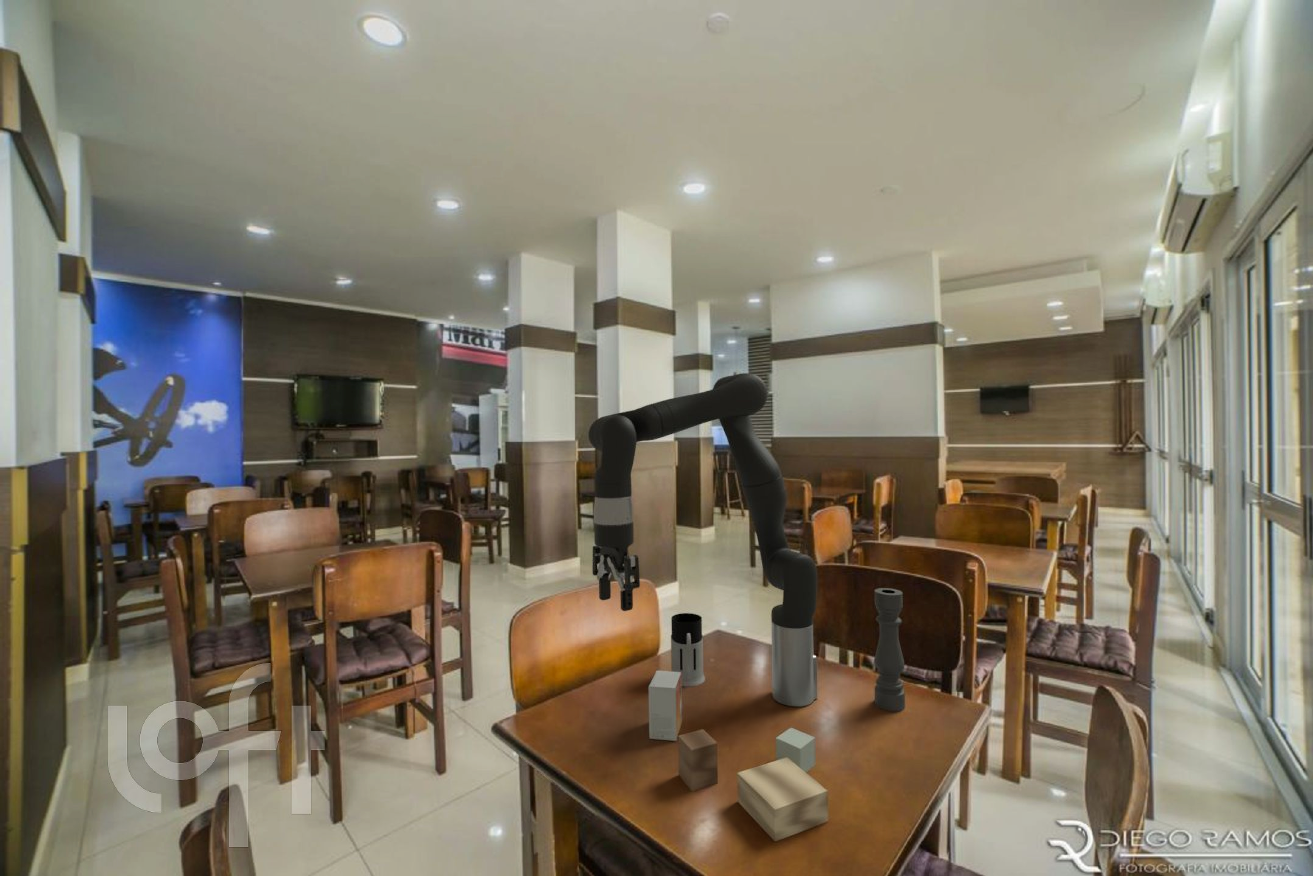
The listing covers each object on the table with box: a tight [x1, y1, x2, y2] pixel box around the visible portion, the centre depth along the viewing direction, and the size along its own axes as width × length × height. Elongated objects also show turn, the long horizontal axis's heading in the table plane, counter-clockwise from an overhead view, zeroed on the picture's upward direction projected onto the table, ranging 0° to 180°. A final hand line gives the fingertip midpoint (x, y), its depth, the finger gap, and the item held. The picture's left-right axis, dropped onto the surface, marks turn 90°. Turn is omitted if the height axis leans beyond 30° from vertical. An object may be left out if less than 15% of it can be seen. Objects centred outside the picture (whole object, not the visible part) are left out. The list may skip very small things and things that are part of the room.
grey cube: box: [775, 727, 816, 773], centre depth 101 cm, size 5×5×5 cm
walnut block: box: [677, 728, 719, 792], centre depth 97 cm, size 5×5×7 cm
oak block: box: [737, 757, 829, 842], centre depth 88 cm, size 10×10×5 cm
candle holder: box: [874, 587, 906, 712], centre depth 123 cm, size 6×6×25 cm
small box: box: [648, 670, 683, 742], centre depth 113 cm, size 8×6×10 cm
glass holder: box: [670, 612, 706, 687], centre depth 134 cm, size 9×14×15 cm, turn 1°
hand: (615, 604), depth 106 cm, fingers open, 8 cm apart
